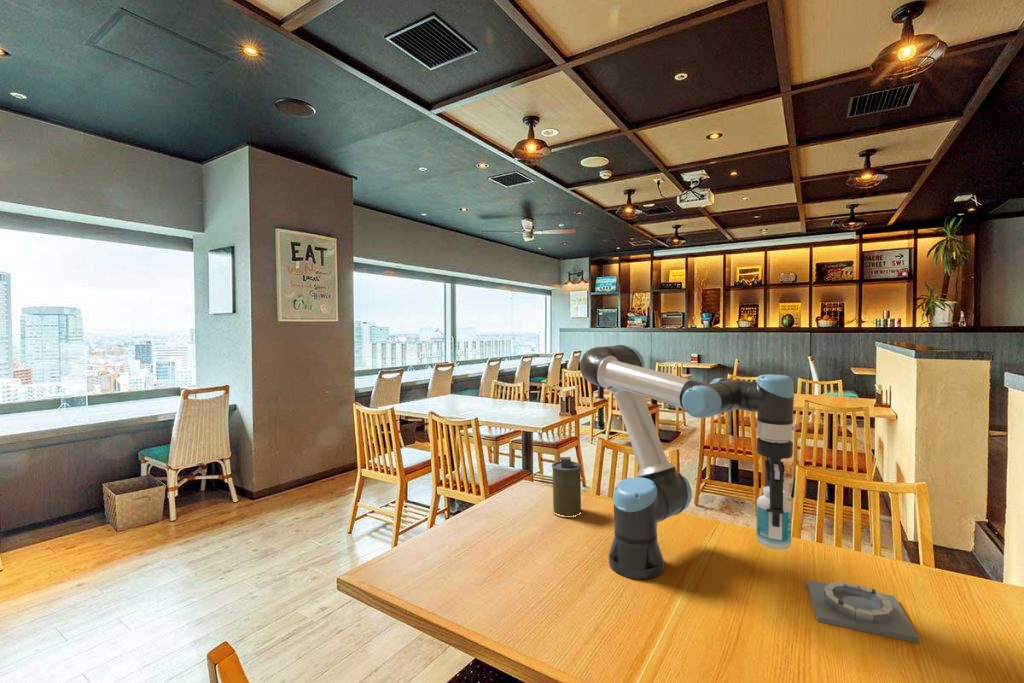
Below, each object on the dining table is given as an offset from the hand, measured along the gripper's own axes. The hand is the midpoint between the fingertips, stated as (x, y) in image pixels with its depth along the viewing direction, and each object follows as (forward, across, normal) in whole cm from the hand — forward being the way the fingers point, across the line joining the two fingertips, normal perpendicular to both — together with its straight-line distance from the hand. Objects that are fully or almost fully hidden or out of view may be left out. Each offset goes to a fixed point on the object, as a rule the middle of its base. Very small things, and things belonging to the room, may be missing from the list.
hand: (773, 530), depth 112 cm
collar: (+16, +2, -17) cm, 23 cm away
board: (+17, +2, -18) cm, 24 cm away
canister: (+18, +30, +62) cm, 72 cm away
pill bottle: (+3, 0, 0) cm, 3 cm away
